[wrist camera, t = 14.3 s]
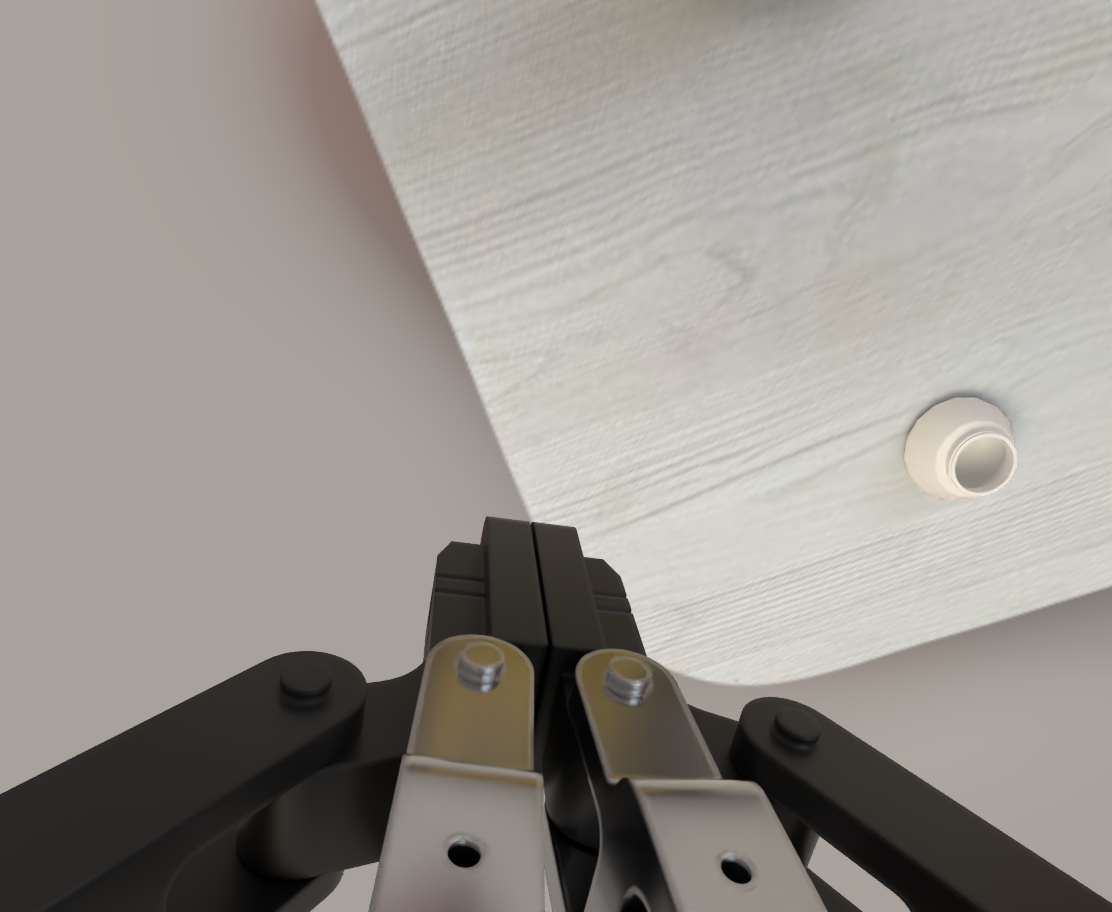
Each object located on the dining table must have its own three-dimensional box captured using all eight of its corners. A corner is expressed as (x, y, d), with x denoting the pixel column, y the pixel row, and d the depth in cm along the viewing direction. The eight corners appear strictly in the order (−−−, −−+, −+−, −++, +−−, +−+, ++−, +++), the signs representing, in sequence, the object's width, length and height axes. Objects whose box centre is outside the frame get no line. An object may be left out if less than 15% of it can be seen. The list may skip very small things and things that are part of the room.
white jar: (991, 379, 39) (889, 418, 39) (1027, 394, 36) (917, 436, 36) (1012, 471, 40) (914, 507, 40) (1049, 492, 37) (943, 531, 38)
